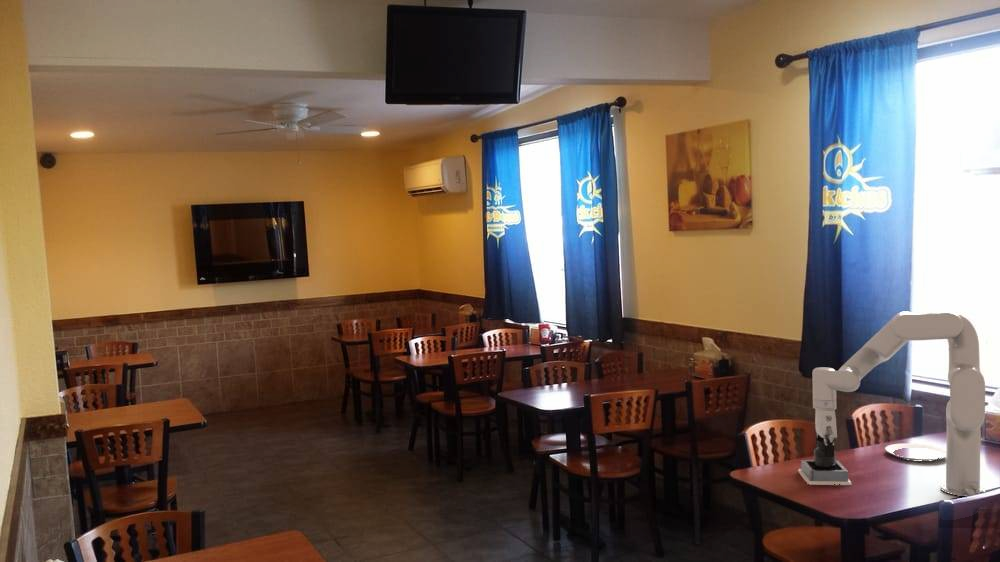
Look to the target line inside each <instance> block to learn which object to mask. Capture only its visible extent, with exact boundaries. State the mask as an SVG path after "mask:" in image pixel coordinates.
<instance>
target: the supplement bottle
mask: <svg viewBox="0 0 1000 562" xmlns="http://www.w3.org/2000/svg"><path fill="white" fill-rule="evenodd" d="M824 445H825V442H824V440H818V441H817V440H816V448H815V449H814V450H813V460H814V470H835V460H836V451H835V450H834V457H825V456H824ZM817 447H818V448H817Z"/></svg>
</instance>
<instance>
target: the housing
mask: <svg viewBox="0 0 1000 562" xmlns="http://www.w3.org/2000/svg"><path fill="white" fill-rule="evenodd" d="M800 461H801V463H800V468H798V471H797V472H798V474H800V476H801V477H802V479H803V480H804V481H805V482H807V483H806V484H807V485H808V484H809V485H810V486H811V485H817V486H819V485H821V486H826V485H827V486H852V481H851V480H850V479H849V471H848V469H846V468H845V466H844V465H843V464H842V463H841V462H840V461H839V460H838V459H837V460H836V459H835V470H814V459H802V460H800ZM834 484H835V485H834ZM839 484H840V485H839Z"/></svg>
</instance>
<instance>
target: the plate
mask: <svg viewBox="0 0 1000 562" xmlns="http://www.w3.org/2000/svg"><path fill="white" fill-rule="evenodd" d="M916 447H917V448H928V449H933V450H936V451H939V452H941V453H942V454H943V457H942V458H939V459H938V460H941V459H945V458H946V450H945V449H942V448H940V447H936V446H932V445H927V444H920V443H907V442H906V443H902V442H901V443H892V444H889V445H886V446H885V448H884V449H885V451H886V452H887V453H889V454H891V455H893V456H895V457H897V458H899V457H900V458H899V459H901V458H904V459H903V460H905V459H909V460H908V461H910V460H922V461H929V460H936V461H938V460H937V459H916V458H908V457H903V456H899V455H895V454H894V453H893V452H894V451H895V450H898V449H902V448H916Z"/></svg>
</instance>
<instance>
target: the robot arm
mask: <svg viewBox="0 0 1000 562" xmlns="http://www.w3.org/2000/svg"><path fill="white" fill-rule="evenodd" d="M932 340H947V343H948V373H947V381H948V383H949V400H948V401H947V403H946V407H945V419H946V422H945V423H946V446H945V447H946V448H945V449H946V450H945V451H946V457H945V458H946V461H945V463H946V465H945V468H946V469H945V471H946V472H945V482H944V483H941V484H940V490H941V489H943V490H944V491H946V492H949V493H952V494H955V495H959V496H965V495H974V494H976V493H980V492H985V493H986V489H985V488H983V487H981V445H982V443H981V442H982V441H981V434H982V433H981V432H982V431H981V427H982V426H983V424H984V421H985V417H986V382H985V378H984V375H983V374H982V372H981V369H980V368H981V366H980V343H979V342H980V341H979V336H978V333H977V331H976V329H975V326H974V325H973V324H972V322H971V321H970V320H969V319H968V318H967V317H966V316H965V315H963V314H962V313H960V312H958V311H957V310H954V309H952V308H948V307H947V308H946V307H942V308H939V309H937V310H935V311H934V312H933V313H932V312H931V313H930V312H929V313H913V312H910V311H907V310H906V311H901V312H898V313H897V314H896V315H894V316H893V317H891V319H890V320H888V321H887V323H885V325H883V327H881V328H880V330H879V331H878V332H876V333H875V334H874V335H873V336H872V337H871V338H870V339H869V340H868V341H866V342H865V344H864V345H863V346H862V347H861V348H860V349H859V350H858V351H856V353H854V354H853V355H852V356H851V357H850V358H849V359H847V361H846V362H844V364H843V365H841V367H839V369H838V370H835V369H834V368H832V367H824V366H823V367H820V366H819V367H815V368H814V369H812V373H811V374H812V378H811V379H812V408H813V409H814V410H815V413H814V417H815V419H814V420H815V421H814V423H815V427H814V428H815V432H816V442H817V441H818V440H824V442H825V445H824V456H825V457H834V451H835V440H834V439H836V438H838V434H837V433H838V432H837V417H836V411H835V410H837V391H840V392H843V393H852V392H855V391H856V390H858V389H859V387H860V386H861V380H862V379H863V378H864V377H866V375H867V374H868V373H870V372H871V371H872V370H873V369H874V368H875V367H876V366H878V365H879V364H882V363H884V362H887V361H888V360H890V359H891V358H892V357H893V356H894V355H895V354H896V353H897V352H898V351H899V350H901V348H902V347H904V346H905V345H906V344H907V343H908V342H909V341H932ZM816 448H818V447H817V446H816ZM959 496H958V497H959Z"/></svg>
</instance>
